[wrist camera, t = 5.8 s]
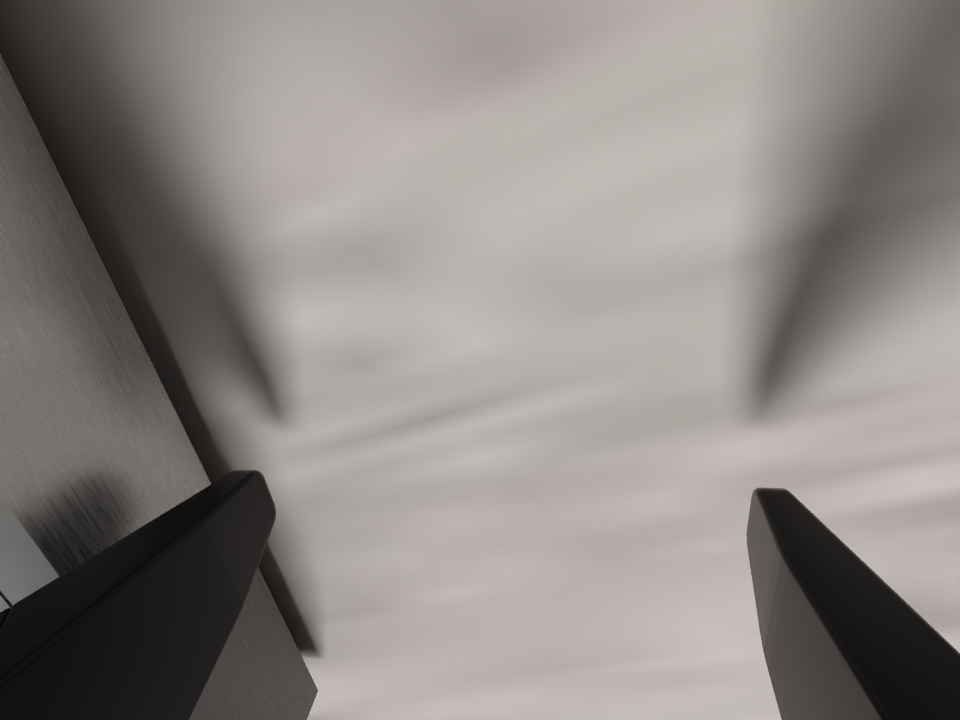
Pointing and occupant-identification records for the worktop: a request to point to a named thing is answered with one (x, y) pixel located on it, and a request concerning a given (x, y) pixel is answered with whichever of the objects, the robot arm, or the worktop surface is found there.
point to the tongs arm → (98, 425)
